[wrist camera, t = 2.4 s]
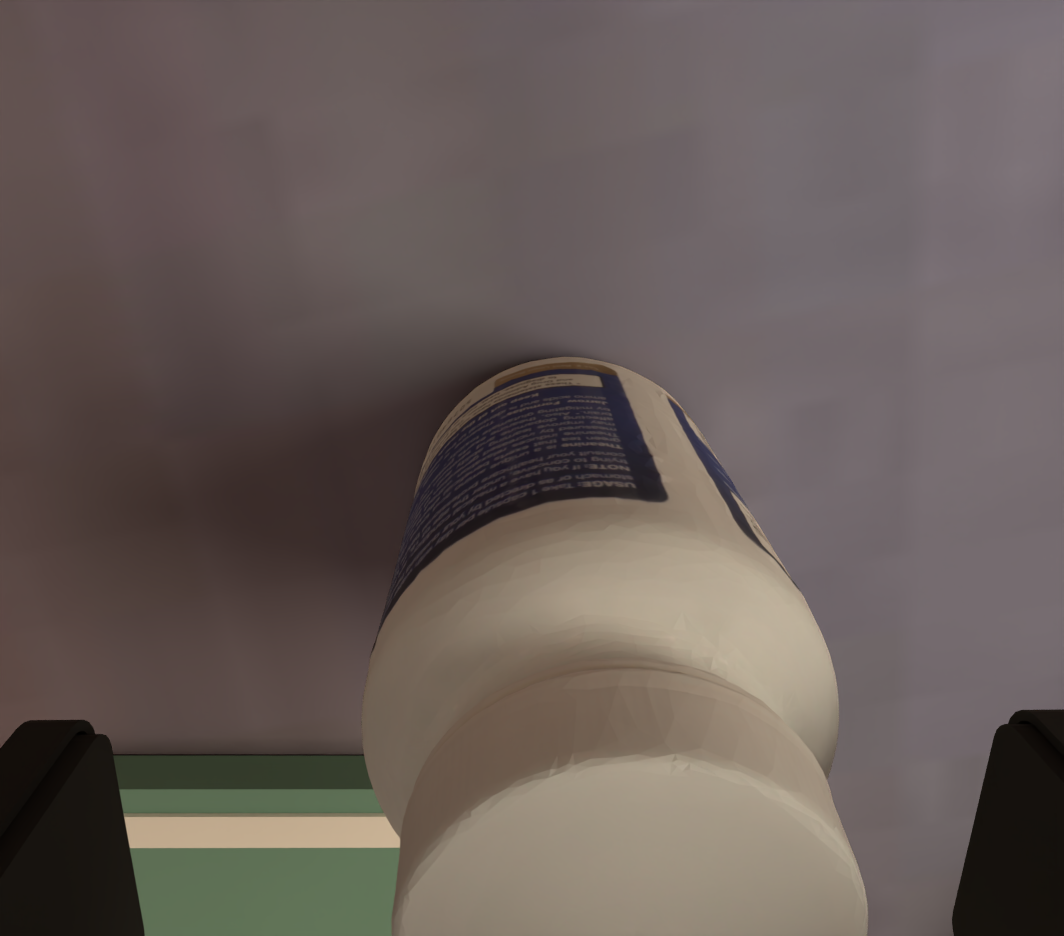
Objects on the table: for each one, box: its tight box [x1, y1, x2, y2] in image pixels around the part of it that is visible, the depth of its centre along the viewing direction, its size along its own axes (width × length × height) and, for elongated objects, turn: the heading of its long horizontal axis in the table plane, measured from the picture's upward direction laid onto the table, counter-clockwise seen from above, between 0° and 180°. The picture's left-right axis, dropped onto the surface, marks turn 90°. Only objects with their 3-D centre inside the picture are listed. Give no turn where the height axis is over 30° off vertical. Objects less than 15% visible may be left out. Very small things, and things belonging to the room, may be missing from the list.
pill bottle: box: [361, 357, 868, 936], centre depth 12 cm, size 5×5×10 cm
